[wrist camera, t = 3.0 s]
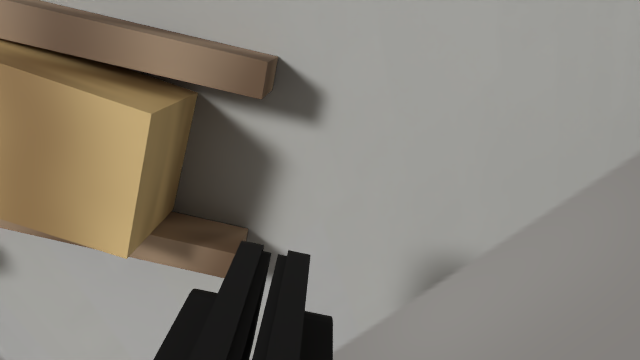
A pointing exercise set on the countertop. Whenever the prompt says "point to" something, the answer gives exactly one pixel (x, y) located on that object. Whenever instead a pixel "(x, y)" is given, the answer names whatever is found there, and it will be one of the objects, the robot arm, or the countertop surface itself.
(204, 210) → the countertop surface
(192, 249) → the chute
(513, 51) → the countertop surface
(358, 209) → the countertop surface
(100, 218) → the ochre block
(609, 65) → the countertop surface
